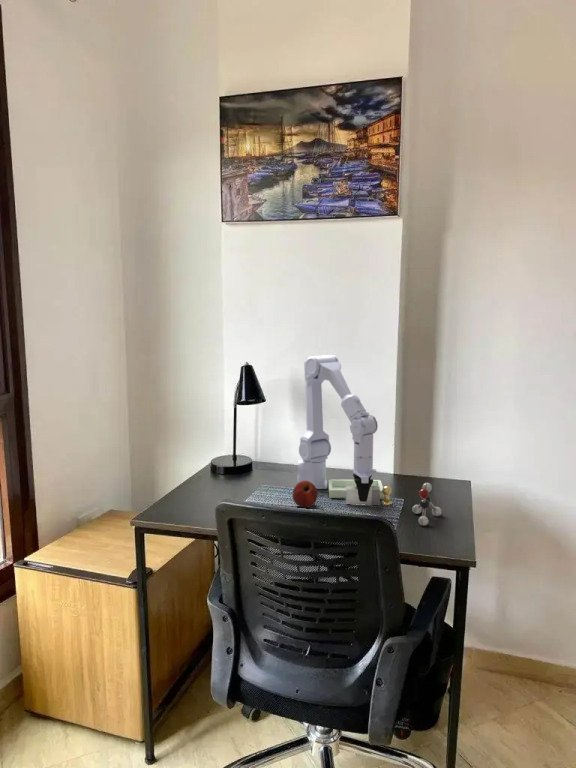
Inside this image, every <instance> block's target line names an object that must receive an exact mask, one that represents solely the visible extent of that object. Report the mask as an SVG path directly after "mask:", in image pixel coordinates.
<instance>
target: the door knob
mask: <svg viewBox="0 0 576 768" xmlns="http://www.w3.org/2000/svg"><path fill="white" fill-rule="evenodd" d="M382 492H383V494H384V499H383V500H382V501H381V505H382V504H384V505H383V506H386V505H389V506H391V505H392V501H391V500H390V495H391V494H392V488H391V486H390V485H385V486H384V485H383V489H382ZM390 504H391V505H390Z"/></svg>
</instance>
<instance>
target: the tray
mask: <svg viewBox="0 0 576 768" xmlns="http://www.w3.org/2000/svg"><path fill="white" fill-rule="evenodd" d="M346 486H357V485H356V483H355V481H354V479H328V486H327V489H328V497H329V498H346ZM371 486H379V488H380V500H384V494H383V492H382V489H383V487H384V485H383V483H382V481H381V479H373V484H372V485H371Z"/></svg>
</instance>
